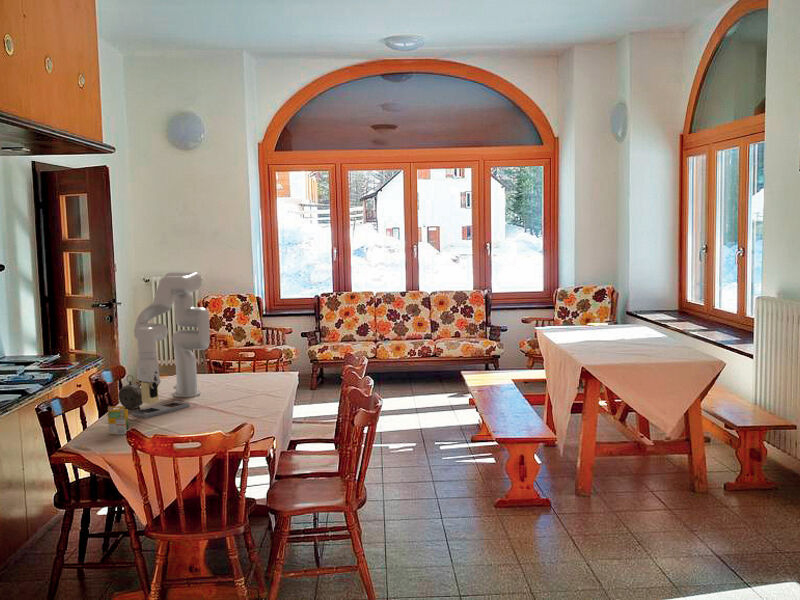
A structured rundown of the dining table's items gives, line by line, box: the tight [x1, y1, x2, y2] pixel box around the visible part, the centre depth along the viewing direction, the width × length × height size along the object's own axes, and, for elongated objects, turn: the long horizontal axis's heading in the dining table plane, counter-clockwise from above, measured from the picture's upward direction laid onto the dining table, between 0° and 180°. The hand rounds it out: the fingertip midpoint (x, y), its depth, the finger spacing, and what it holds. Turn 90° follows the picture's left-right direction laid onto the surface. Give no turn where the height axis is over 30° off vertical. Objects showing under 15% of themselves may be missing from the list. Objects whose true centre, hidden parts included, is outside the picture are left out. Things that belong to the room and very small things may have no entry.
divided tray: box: [131, 400, 191, 419], centre depth 376 cm, size 9×24×2 cm, turn 143°
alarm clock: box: [118, 374, 143, 411], centre depth 381 cm, size 11×5×16 cm, turn 71°
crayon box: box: [107, 405, 130, 435], centre depth 344 cm, size 7×3×12 cm, turn 86°
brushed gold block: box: [140, 380, 160, 405], centre depth 371 cm, size 5×5×9 cm
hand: (150, 395), depth 371 cm, fingers closed on brushed gold block, 5 cm apart
